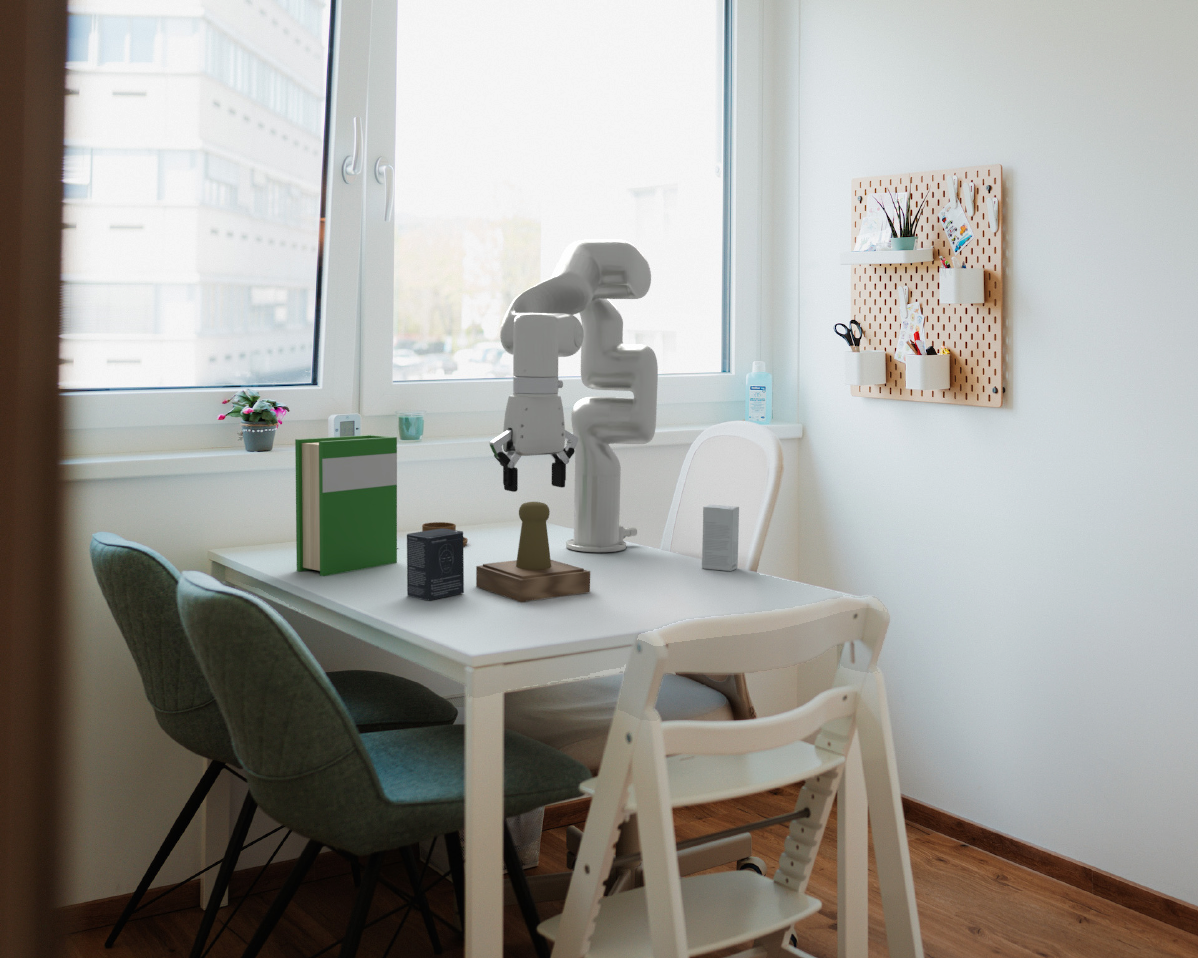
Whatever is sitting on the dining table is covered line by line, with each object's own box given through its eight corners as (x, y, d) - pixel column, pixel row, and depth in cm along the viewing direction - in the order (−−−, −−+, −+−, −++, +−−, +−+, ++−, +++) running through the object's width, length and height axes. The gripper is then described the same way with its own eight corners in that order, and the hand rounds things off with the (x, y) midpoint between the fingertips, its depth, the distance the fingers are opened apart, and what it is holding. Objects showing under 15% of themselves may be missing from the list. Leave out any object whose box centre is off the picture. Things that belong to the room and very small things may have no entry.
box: (441, 589, 184) (442, 527, 183) (464, 594, 181) (464, 531, 179) (405, 596, 178) (405, 532, 177) (428, 601, 175) (428, 536, 173)
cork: (546, 570, 181) (546, 505, 180) (511, 568, 182) (512, 503, 181) (555, 563, 187) (555, 500, 186) (521, 561, 188) (522, 499, 187)
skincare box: (738, 568, 208) (740, 506, 207) (731, 571, 204) (733, 509, 203) (708, 565, 211) (710, 504, 209) (700, 568, 207) (702, 506, 205)
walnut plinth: (543, 578, 195) (543, 556, 194) (589, 592, 184) (590, 569, 183) (476, 586, 186) (476, 563, 186) (520, 602, 175) (520, 577, 175)
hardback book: (323, 576, 193) (322, 441, 190) (296, 570, 197) (295, 439, 194) (396, 562, 207) (396, 437, 204) (370, 557, 211) (370, 435, 208)
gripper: (564, 385, 190) (563, 482, 192) (479, 387, 179) (479, 489, 181) (590, 387, 184) (588, 487, 186) (503, 389, 173) (503, 495, 175)
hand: (534, 488), depth 184 cm, fingers open, 9 cm apart
